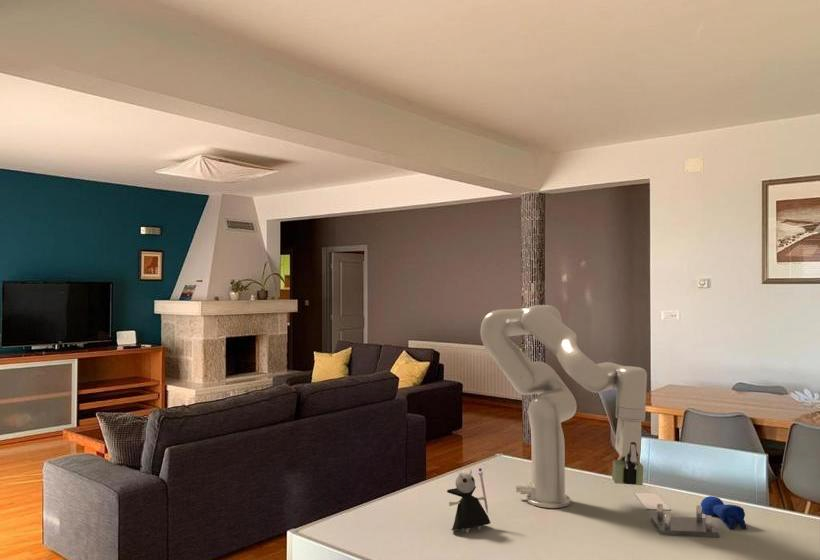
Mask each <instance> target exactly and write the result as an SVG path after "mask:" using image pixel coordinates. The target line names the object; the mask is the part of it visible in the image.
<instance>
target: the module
mask: <svg viewBox="0 0 820 560" xmlns="http://www.w3.org/2000/svg"><path fill="white" fill-rule="evenodd" d="M628 462H629V460H628ZM624 468H625V461H624V460H620V459H612V471H611V474H612V475H611V479H612V480H613V483H615V484H622V485H625V484H624V482H623V474H624ZM643 480H644V465H643V464H642V463H641V461H637V474H636V484H630V485H632V486H633V485H634V486H643V484H644V481H643Z"/></svg>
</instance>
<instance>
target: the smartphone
mask: <svg viewBox="0 0 820 560" xmlns="http://www.w3.org/2000/svg"><path fill="white" fill-rule="evenodd" d="M633 494H634V496H636V498H637V500H638V501H639V502H640V504H641V505H642V506H643V508H644V509H645V510H647V511H657V504H662V505H663V511H666V512H667V511H669V512H670V511H672V509H671V507H670V506H669V505H668V504H667V503H666V502H665V501H664V499H663V498H662V497H661V496H660V494H658V493H656V492H633Z"/></svg>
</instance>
